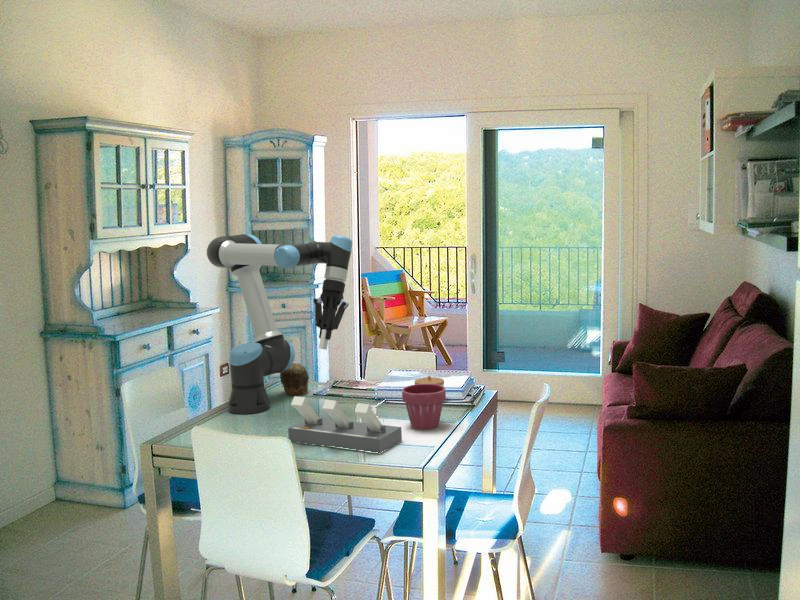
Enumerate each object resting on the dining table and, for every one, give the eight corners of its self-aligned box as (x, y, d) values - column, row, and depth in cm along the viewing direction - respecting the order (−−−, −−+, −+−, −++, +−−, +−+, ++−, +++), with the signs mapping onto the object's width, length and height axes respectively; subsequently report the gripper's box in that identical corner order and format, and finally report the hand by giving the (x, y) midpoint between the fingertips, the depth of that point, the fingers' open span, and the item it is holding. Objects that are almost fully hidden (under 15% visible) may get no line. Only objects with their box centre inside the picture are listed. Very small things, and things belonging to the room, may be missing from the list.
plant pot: (396, 430, 281) (395, 392, 280) (413, 418, 294) (411, 382, 292) (437, 434, 276) (436, 395, 274) (452, 422, 288) (451, 384, 287)
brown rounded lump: (275, 394, 335) (273, 364, 333) (296, 389, 343) (295, 359, 341) (293, 398, 327) (291, 367, 326) (315, 392, 335) (313, 362, 334)
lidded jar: (441, 396, 323) (440, 371, 322) (447, 403, 312) (446, 378, 311) (412, 398, 321) (412, 374, 320) (418, 405, 311) (417, 380, 309)
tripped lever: (311, 417, 278) (294, 396, 269) (321, 418, 276) (305, 397, 268) (307, 425, 277) (290, 404, 268) (318, 426, 275) (301, 405, 266)
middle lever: (341, 420, 273) (325, 399, 264) (352, 421, 271) (336, 400, 262) (338, 428, 271) (321, 408, 262) (349, 430, 269) (333, 409, 261)
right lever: (373, 424, 267) (357, 403, 259) (384, 425, 266) (369, 404, 257) (370, 432, 266) (354, 411, 257) (381, 434, 264) (366, 412, 255)
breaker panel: (313, 429, 285) (312, 410, 284) (401, 441, 270) (401, 420, 269) (288, 441, 273) (287, 421, 272) (380, 454, 257) (379, 432, 256)
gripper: (356, 284, 296) (344, 352, 293) (324, 281, 302) (312, 348, 299) (345, 280, 289) (333, 349, 286) (313, 277, 295) (300, 345, 292)
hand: (322, 348), depth 293 cm, fingers closed
